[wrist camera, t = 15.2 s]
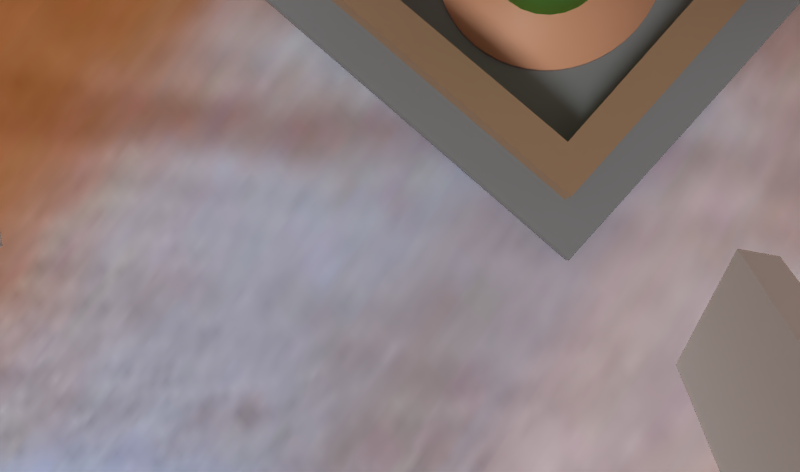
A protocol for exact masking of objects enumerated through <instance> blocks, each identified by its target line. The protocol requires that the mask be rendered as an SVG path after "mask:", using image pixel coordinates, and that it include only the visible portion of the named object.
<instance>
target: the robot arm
mask: <svg viewBox="0 0 800 472" xmlns="http://www.w3.org/2000/svg"><path fill="white" fill-rule="evenodd" d="M1 246H2V240H1V234H0V247H1ZM676 366H677V368H678V371H679V373H680V375H681V378H682V380H683V383H684V385H685V388H686V390H687V393H688V395H689V397H690V400H691V402H692V405H693V407H694V410H695V412H696V415H697V417H698V419H699V422H700V424H701V427H702V429H703V432H704V434H705V437H706V439H707V441H708V444H709V446H710V449H711V451H712V454H713V456H714V459H715V461H716V463H717V466H718V468H719V471H720V472H800V283H799V281H798V280H797V279H796V277H795V276H794V275H793V273H792V272H791V271H790V269H789V268H788V267H787V265H786V264H785V263H784V261H783V260H782V259H781V257H780V256H774V255H769V254H763V253H758V252H752V251H747V250H741V249H737V251H736V253H735V254H734V256H733V258H732V260H731V262H730V264H729V266H728V268H727V269H726V271H725V273H724V275H723V277H722V279H721V281H720V283H719V285H718V286H717V288H716V290H715V292H714V294H713V296H712V298H711V300H710V302H709V303H708V305H707V307H706V309H705V311H704V313H703V315H702V317H701V318H700V320H699V322H698V324H697V326H696V328H695V330H694V332H693V334H692V335H691V337H690V339H689V341H688V343H687V345H686V347H685V349H684V350H683V352H682V354H681V356H680V358H679V360H678V362H677V364H676Z"/></svg>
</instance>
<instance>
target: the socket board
mask: <svg viewBox="0 0 800 472" xmlns="http://www.w3.org/2000/svg"><path fill="white" fill-rule="evenodd" d="M266 1H267V2H268V3H269V4H270V5H272V6H273V7H274V8H275V9H276V10H277V11H279V12H280V13H281V14H282V15H283V16H284V17H285V18H287V19H288V20H289V21H290V22H291V23H292V24H294V25H295V26H296V27H297V28H298V29H299V30H301V31H302V32H303V33H304V34H305V35H306V36H307V37H309V38H310V39H311V40H312V41H313V42H314V43H316V44H317V45H318V46H319V47H320V48H321V49H323V50H324V51H325V52H326V53H327V54H328V55H329V56H331V57H332V58H333V59H334V60H335V61H336V62H338V63H339V64H340V65H341V66H342V67H343V68H344V69H346V70H347V71H348V72H349V73H350V74H351V75H353V76H354V77H355V78H356V79H357V80H358V81H360V82H361V83H362V84H363V85H364V86H365V87H366V88H368V89H369V90H370V91H371V92H372V93H373V94H375V95H376V96H377V97H378V98H379V99H380V100H381V101H383V102H384V103H385V104H386V105H387V106H388V107H390V108H391V109H392V110H393V111H394V112H395V113H397V114H398V115H399V116H400V117H401V118H402V119H403V120H405V121H406V122H407V123H408V124H409V125H410V126H412V127H413V128H414V129H415V130H416V131H417V132H419V133H420V134H421V135H422V136H423V137H424V138H425V139H427V140H428V141H429V142H430V143H431V144H432V145H434V146H435V147H436V148H437V149H438V150H439V151H440V152H442V153H443V154H444V155H445V156H446V157H447V158H449V159H450V160H451V161H452V162H453V163H454V164H456V165H457V166H458V167H459V168H460V169H461V170H462V171H464V172H465V173H466V174H467V175H468V176H469V177H471V178H472V179H473V180H474V181H475V182H476V183H477V184H479V185H480V186H481V187H482V188H483V189H484V190H486V191H487V192H488V193H489V194H490V195H491V196H493V197H494V198H495V199H496V200H497V201H498V202H499V203H501V204H502V205H503V206H504V207H505V208H506V209H508V210H509V211H510V212H511V213H512V214H513V215H515V216H516V217H517V218H518V219H519V220H520V221H521V222H523V223H524V224H525V225H526V226H527V227H528V228H530V229H531V230H532V231H533V232H534V233H535V234H536V235H538V236H539V237H540V238H541V239H542V240H543V241H545V242H546V243H547V244H548V245H549V246H550V247H552V248H553V249H554V250H555V251H556V252H557V253H558V254H560V255H561V256H562V257H563V258H564V259H565V260H569V259H570V258H571V257H572V256H573V255H574V254H575V253H576V252H577V251H578V249H579V248H580V247H581V246H582V245H583V244H584V243H585V242H586V241H587V239H588V238H589V237H590V236H591V235H592V234H593V233H594V232H595V230H596V229H597V228H598V227H599V226H600V225H601V224H602V223H603V222H604V220H605V219H606V218H607V217H608V216H609V215H610V214H611V213H612V212H613V210H614V209H615V208H616V207H617V206H618V205H619V204H620V203H621V202H622V200H623V199H624V198H625V197H626V196H627V195H628V194H629V193H630V192H631V190H632V189H633V188H634V187H635V186H636V185H637V184H638V183H639V182H640V180H641V179H642V178H643V177H644V176H645V175H646V174H647V173H648V171H649V170H650V169H651V168H652V167H653V166H654V165H655V164H656V163H657V161H658V160H659V159H660V158H661V157H662V156H663V155H664V154H665V153H666V151H667V150H668V149H669V148H670V147H671V146H672V145H673V144H674V143H675V141H676V140H677V139H678V138H679V137H680V136H681V135H682V134H683V133H684V131H685V130H686V129H687V128H688V127H689V126H690V125H691V124H692V122H693V121H694V120H695V119H696V118H697V117H698V116H699V115H700V114H701V112H702V111H703V110H704V109H705V108H706V107H707V106H708V105H709V104H710V102H711V101H712V100H713V99H714V98H715V97H716V96H717V95H718V94H719V92H720V91H721V90H722V89H723V88H724V87H725V86H726V85H727V84H728V82H729V81H730V80H731V79H732V78H733V77H734V76H735V75H736V74H737V72H738V71H739V70H740V69H741V68H742V67H743V66H744V65H745V63H746V62H747V61H748V60H749V59H750V58H751V57H752V56H753V55H754V53H755V52H756V51H757V50H758V49H759V48H760V47H761V46H762V45H763V43H764V42H765V41H766V40H767V39H768V38H769V37H770V36H771V35H772V33H773V32H774V31H775V30H776V29H777V28H778V27H779V26H780V25H781V23H782V22H783V21H784V20H785V19H786V18H787V17H788V16H789V15H790V13H791V12H792V11H793V10H794V9H795V8H796V7H797V6H798V4H799V3H800V0H588V1H586V2H585V3H583V4H582V5H581V6H579V7H577V8H575V9H572V10H570V11H567V12H565V13H559V14H552V15H545V14H535V13H532V12H529V11H526V10H523V9H520V8H519V7H517V6H516V5H514V4H513V3H511V2H509V1H508V0H266Z"/></svg>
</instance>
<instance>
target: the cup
mask: <svg viewBox="0 0 800 472" xmlns="http://www.w3.org/2000/svg"><path fill="white" fill-rule="evenodd" d="M508 1H509V2H511V3H513V4H514V5H516V6H517V7H519V8H520V9H523V10H526V11H529V12H532V13H535V14H545V15H552V14H559V13H565V12H567V11H570V10H572V9H575V8H577V7H579V6H581V5H582V4H583V3H585V2H586V1H588V0H508Z"/></svg>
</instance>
